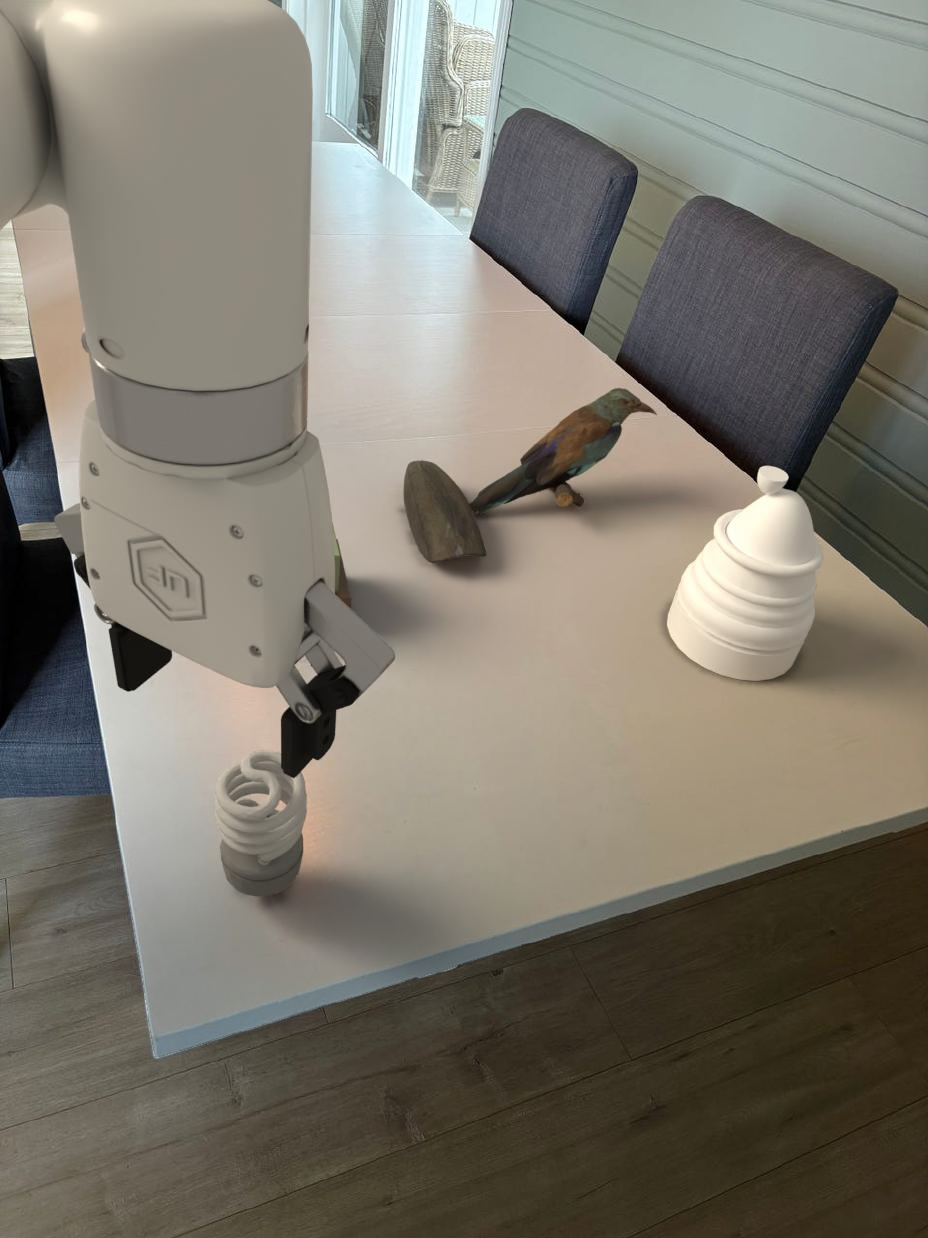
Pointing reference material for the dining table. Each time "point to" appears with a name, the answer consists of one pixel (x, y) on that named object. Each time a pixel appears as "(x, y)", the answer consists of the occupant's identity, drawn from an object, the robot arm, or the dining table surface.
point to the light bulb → (260, 824)
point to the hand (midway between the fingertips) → (224, 714)
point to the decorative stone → (439, 514)
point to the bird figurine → (565, 453)
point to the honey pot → (751, 587)
